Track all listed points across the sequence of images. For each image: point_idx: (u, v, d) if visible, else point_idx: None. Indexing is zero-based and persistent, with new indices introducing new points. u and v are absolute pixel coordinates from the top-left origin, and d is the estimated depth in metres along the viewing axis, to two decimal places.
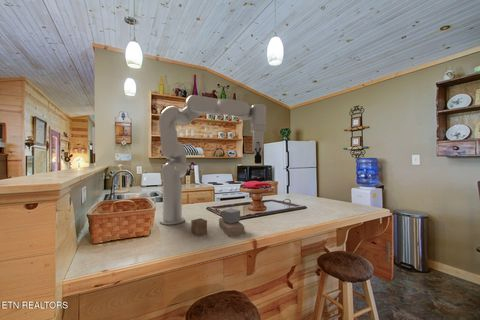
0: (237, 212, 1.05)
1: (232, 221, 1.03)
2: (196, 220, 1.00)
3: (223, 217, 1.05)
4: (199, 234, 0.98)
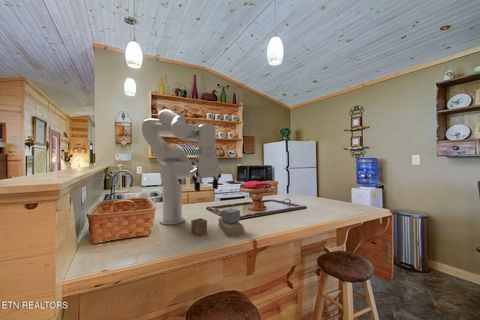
0: (237, 212, 1.05)
1: (232, 221, 1.03)
2: (196, 220, 1.00)
3: (223, 217, 1.06)
4: (199, 234, 0.98)
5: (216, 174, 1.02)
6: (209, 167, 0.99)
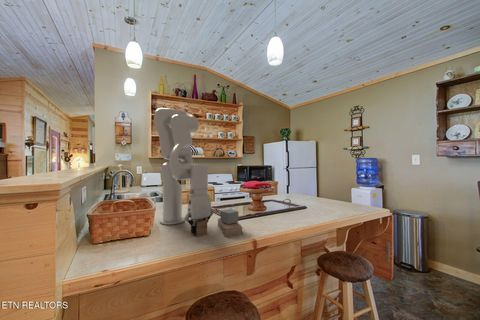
0: (235, 213, 1.04)
1: (230, 222, 1.02)
2: (196, 220, 1.00)
3: (221, 217, 1.05)
4: (199, 234, 0.98)
5: (209, 214, 1.01)
6: (201, 208, 0.98)
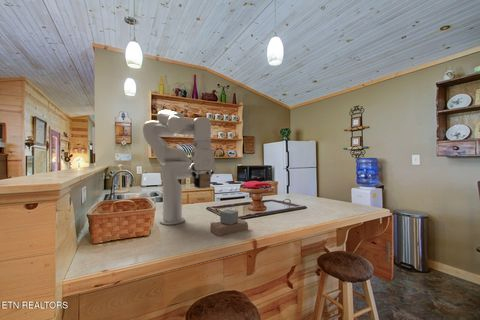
0: None
1: None
2: None
3: (232, 220, 1.01)
4: (202, 186, 0.98)
5: (212, 168, 1.01)
6: (205, 160, 0.98)
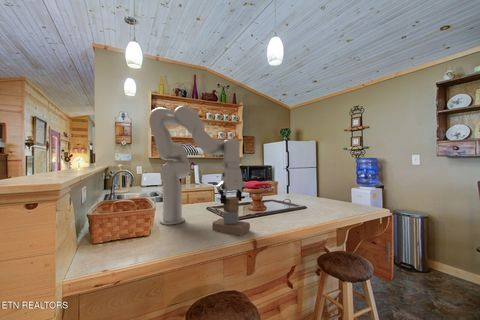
0: None
1: None
2: (228, 198, 1.05)
3: None
4: (232, 210, 1.03)
5: (240, 187, 1.06)
6: (234, 180, 1.03)
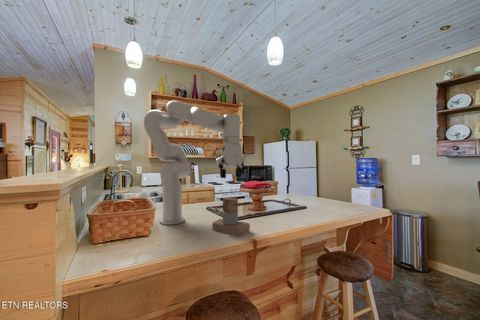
0: None
1: None
2: (227, 198, 1.05)
3: None
4: (231, 211, 1.02)
5: (240, 162, 1.06)
6: (234, 155, 1.03)
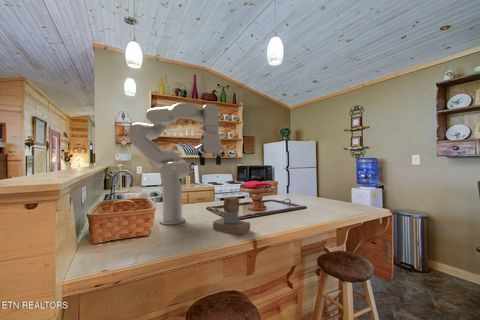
0: None
1: None
2: (229, 197, 1.05)
3: None
4: (232, 210, 1.02)
5: (219, 150, 1.11)
6: (213, 143, 1.08)
